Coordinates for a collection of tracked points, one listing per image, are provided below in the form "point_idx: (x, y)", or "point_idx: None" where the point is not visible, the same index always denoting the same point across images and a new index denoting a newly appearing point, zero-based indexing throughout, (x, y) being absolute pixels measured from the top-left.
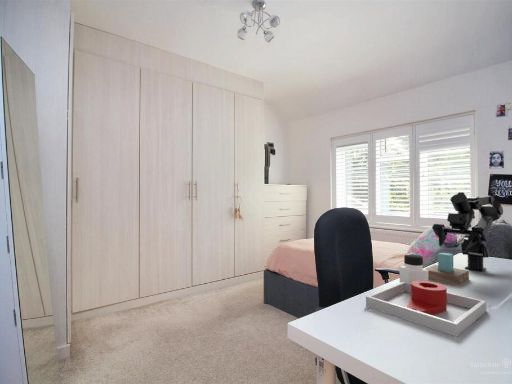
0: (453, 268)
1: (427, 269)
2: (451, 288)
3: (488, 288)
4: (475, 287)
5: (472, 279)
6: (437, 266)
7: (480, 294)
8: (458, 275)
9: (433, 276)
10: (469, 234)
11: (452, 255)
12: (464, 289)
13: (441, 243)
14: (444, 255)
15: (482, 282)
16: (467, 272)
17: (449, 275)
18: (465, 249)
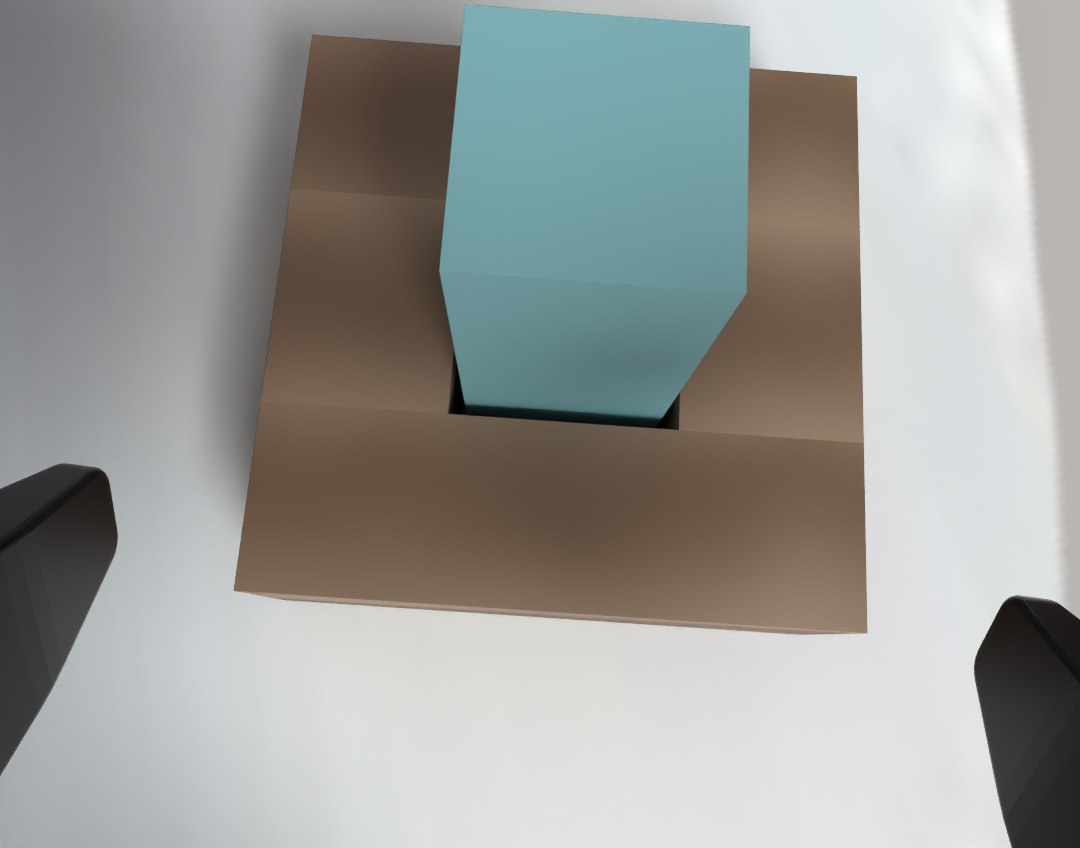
0: (501, 560)
1: (806, 125)
2: (394, 19)
3: (9, 366)
4: (159, 286)
5: (255, 754)
6: (778, 502)
7: (77, 16)
8: (314, 86)
9: None
10: None
11: (447, 223)
12: (260, 88)
13: (1039, 721)
14: (586, 31)
15: (103, 668)
16: (251, 507)
17: (437, 52)
18: (89, 505)
